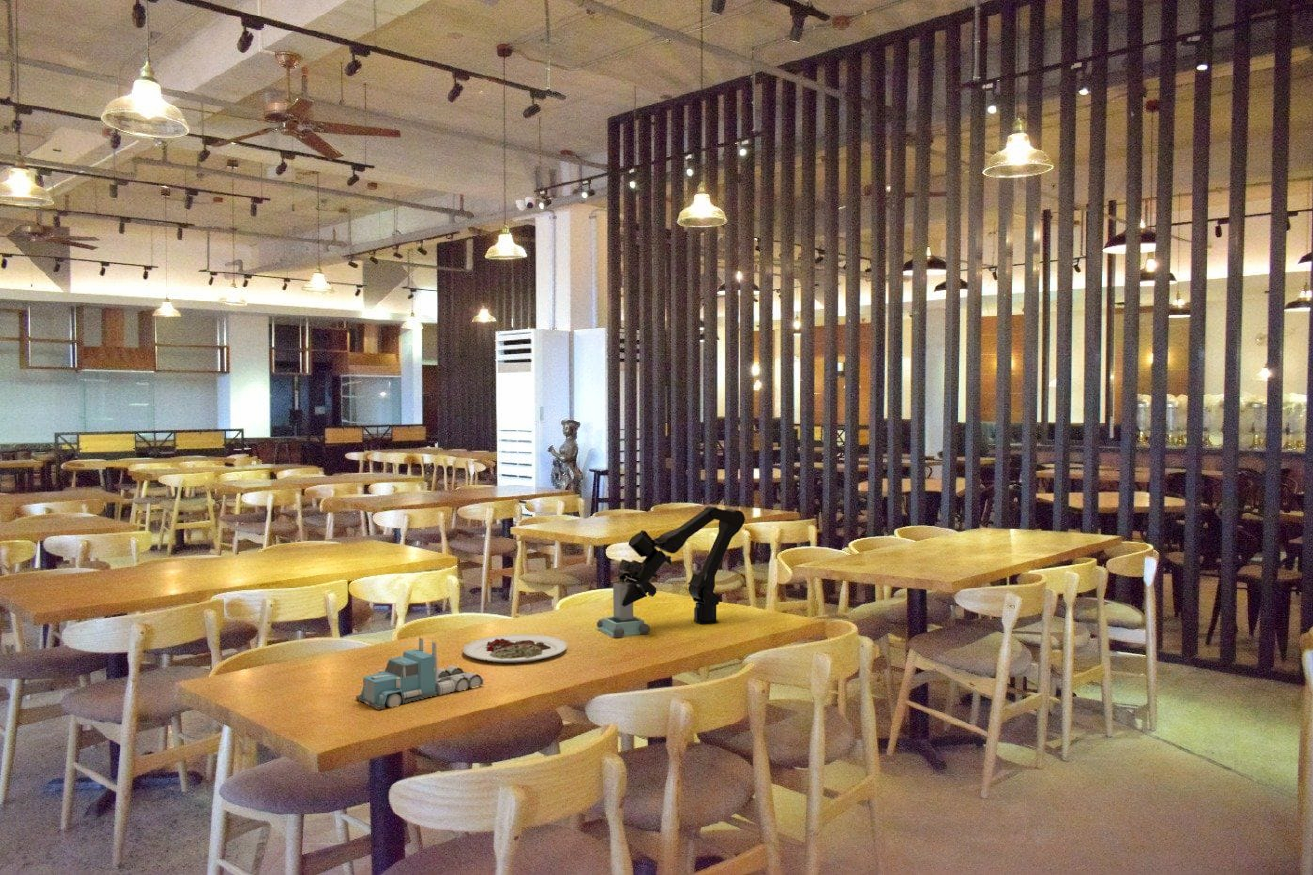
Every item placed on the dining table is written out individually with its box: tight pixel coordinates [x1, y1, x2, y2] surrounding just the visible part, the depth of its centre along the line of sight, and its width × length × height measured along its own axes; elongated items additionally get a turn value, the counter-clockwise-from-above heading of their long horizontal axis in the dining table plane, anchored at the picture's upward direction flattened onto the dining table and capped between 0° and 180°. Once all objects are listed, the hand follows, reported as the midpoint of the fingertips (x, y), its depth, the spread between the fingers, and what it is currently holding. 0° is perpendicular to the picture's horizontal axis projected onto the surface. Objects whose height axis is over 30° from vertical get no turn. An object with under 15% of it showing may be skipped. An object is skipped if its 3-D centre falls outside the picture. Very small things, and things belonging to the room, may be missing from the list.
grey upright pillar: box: [612, 581, 634, 623], centre depth 303 cm, size 4×5×13 cm
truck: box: [355, 637, 484, 711], centre depth 238 cm, size 12×29×15 cm, turn 133°
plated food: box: [462, 634, 568, 664], centre depth 279 cm, size 30×30×3 cm
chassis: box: [596, 615, 651, 639], centre depth 303 cm, size 12×14×4 cm
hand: (619, 604), depth 302 cm, fingers closed on grey upright pillar, 5 cm apart
